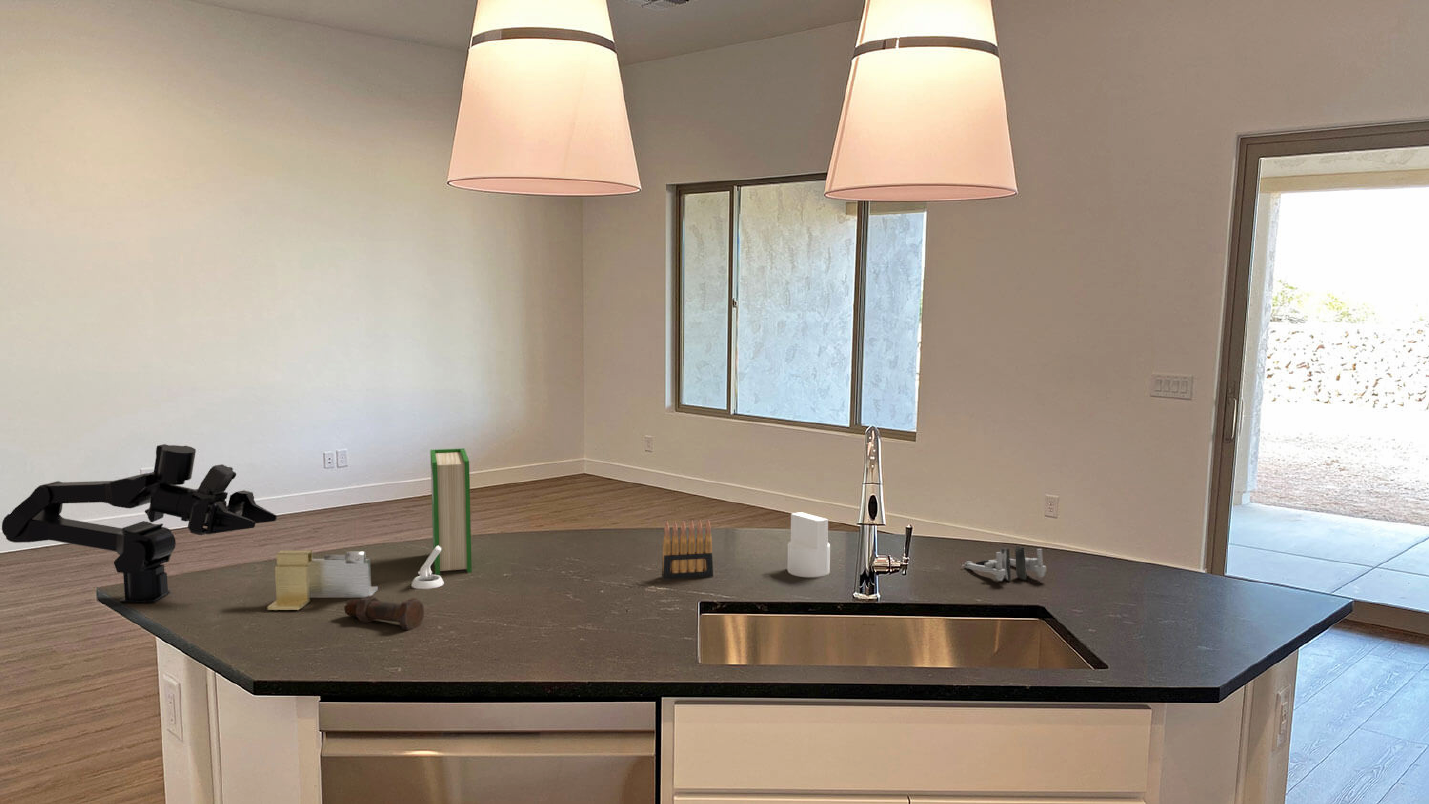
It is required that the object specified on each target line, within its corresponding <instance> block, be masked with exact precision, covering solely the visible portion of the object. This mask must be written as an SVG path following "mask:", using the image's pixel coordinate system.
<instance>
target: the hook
mask: <svg viewBox="0 0 1429 804" xmlns="http://www.w3.org/2000/svg"><path fill="white" fill-rule="evenodd" d="M440 551H441V547H440V546H439V545H438V546H436V547H435V549H434V550H433V549H432V551H431V553H430V554H429V556H428V557H427V558H426V561H425V562H424V563H423V564H422V566H421V567H420V570H418V572H417V574H418V575H419V576H415V577H414V578H413V580H412V582H411V587H412V588H414V589H417V590H426V589H427V590H431V589H435V588H439V587H442V586H444V584H445V582H444V579H443V578H442V576H441V575H436V574H433V571H432V570H431V566H432V565H433V564H434V560H435V559H436V557H437V556H438V555H439V553H440Z"/></svg>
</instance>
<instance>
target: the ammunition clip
mask: <svg viewBox="0 0 1429 804" xmlns="http://www.w3.org/2000/svg"><path fill="white" fill-rule="evenodd" d="M669 525H670V524H669V522H668V521H666V523H665V524H664V530H663V541H662V565H661V567H662V569H661V578H662V580H664V581H665V580H679V579H682V580H683V579H695V578H696V579H697V578H712V577H714V565H713V563H714V562H713V538H712V530H711V529H712V526H711V523H710V520H709V519H708V520H706V523H705V528H704V529H705V532H704V531H703V525H702V521H701V520H698V523H697V528H696V538H695V525H694V521H693V520H690V522H689V526H688V527H689V528H688V536H687V527H686V523H685V521H684V520H683V521H682V522H681V527H680V535H679V529H678V524H677V521H674V522H673V525H672V530H671V531H672V533H671V532H670V526H669ZM671 534H672V536H671ZM679 537H680V538H679ZM687 537H688V538H687Z"/></svg>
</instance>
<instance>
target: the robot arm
mask: <svg viewBox="0 0 1429 804" xmlns="http://www.w3.org/2000/svg"><path fill="white" fill-rule="evenodd" d="M196 452H197V449H196V448H195V447H192V446H188V445H177V444H176V445H175V444H173V445H171V444H170V445H169V444H165V443H164V444H160V445H159V444H158V445H157V446H156V448H155V463H154V469H153V471H152V472H149V473H148V472H145V473H142V474H141V473H140V474H137V475H132V476H128V477H123V478H120V479H115V480H101V481H97V480H96V481H69V482H68V481H66V482H65V481H64V482H62V481H59V480H58V481H54V482H49V483H44V484H40V485H38V486H37V487H36V488H35V489H34V490H33V491H32V493H31V494H30V495H29V496H28V497H27V498H26V499H24V500H23V501H21V503H19V504H18V505H17V506H16V507H14V509H12V511H11V512H10V513H8V514H7V515H6V516H4V519H2V521H1V522H2V523H1V531H2V534H3V535H4V536H5V539H6V540H7V541H8V542H11V543H15V544H16V543H17V544H18V543H35V542H44V541H46V542H47V541H51V542H52V541H53V542H59V543H65V544H69V545H70V544H71V545H77V546H83V547H89V548H93V549H100V550H105V551H110V552H111V551H112V552H115V553H117V554H118V555H119V556H117V558H116V559H115V560H114V562H113V566H114V568H115V569H116V570H115V571H116V572H117V573H121V574H123V575H122V576H123V591H124V595H123V596H124V597H122V598H121V599H119V603H121V604H122V603H126V604H127V603H129V604H130V603H133V604H134V603H155V602H157V601H158V600H160V599H162V598H164V597H166V596H168V595H169V594H170V593H171V590H169V588H168V587H169V584H168V573H167V572H166V571H165V564H164V563H168V562H170V559H171V556H172V553H173V551H174V550H175V549H176V545H177V544H176V537H175V536H174V534H173V533H172V530H171V529H169V528H168V527H166V526H164V523H159V524H156V523H154V522H157V521H158V520H161V519H163V518H164V515H167V516H173V517H177V518H181V519H180V520H181V522H188V524H187V529H188V530H189V531H190V533H191V534H194V535H198V536H204V535H212V534H213V535H214V534H220V533H228V532H233V531H240V530H250V529H253V528H255V527H256V524H260V523H262V524H263V523H273V522H276V521H277V518H278V516H277V514H275V513H272V512H271V511H269V510H267V509H266V508H263V507H262V506H260V505H259V504H257V503H256V502H255V495H254V492H253V491H249V490H239V491H235V492H233V493H232V494H231V495H229V499H228V504H227V497H228V494H229V493H228V492H226V489H228V487H229V486H230V483H232V481H233V480H234V479H235V478H236V476H237V473H236V472H235V471H234V469H233V467H231V466H227V465H225V464H215V465H213V466H211V468H210V469H209V470H208V471H207V473H206V475H205V476H204V478H203V480H202V481H201V482H200V485H199V487H198V488H195V489H194V488H190V487H185V486H181V485H184V484H185V483H186V482H185V481H190V480H191V479H192V477H193V476H192V475H193V471H194V470H193V469H194V465H195V458H196ZM82 503H83V504H87V503H89V504H91V503H93V504H94V503H104V504H109V505H111V506H113V507H117V508H124V509H134V508H137V507H141V506H143V505H147V504H149V507H148V508H147V509H145V510H144V513H145V514H146V515H147V519H148V520H149V521H139V522H137V523H133V524H131V525H127V526H124V527H116V526H111V525H105V524H99V523H93V522H88V521H81V520H75V519H69V518H64V517H63V516H61V513H62V511H63V505H64V504H82ZM163 526H164V527H163ZM205 527H206V528H205Z"/></svg>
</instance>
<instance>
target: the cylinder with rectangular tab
mask: <svg viewBox="0 0 1429 804" xmlns="http://www.w3.org/2000/svg"><path fill="white" fill-rule="evenodd" d="M828 536H829V519H827V518H825V517H822V516H817V515H813V514H809V513H806V512H803V511H800V512H799V511H798V512H793V513H790V541H788V543H787V573H788V574H790V575H792V576H795V577H801V578H819V577H825V576H828V575H829V574H830V571H831V569H830V568H831V565H830V564H831V563H830V561H831V558H830V557H831V544H830V543H829V541H828V539H829V537H828Z"/></svg>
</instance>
